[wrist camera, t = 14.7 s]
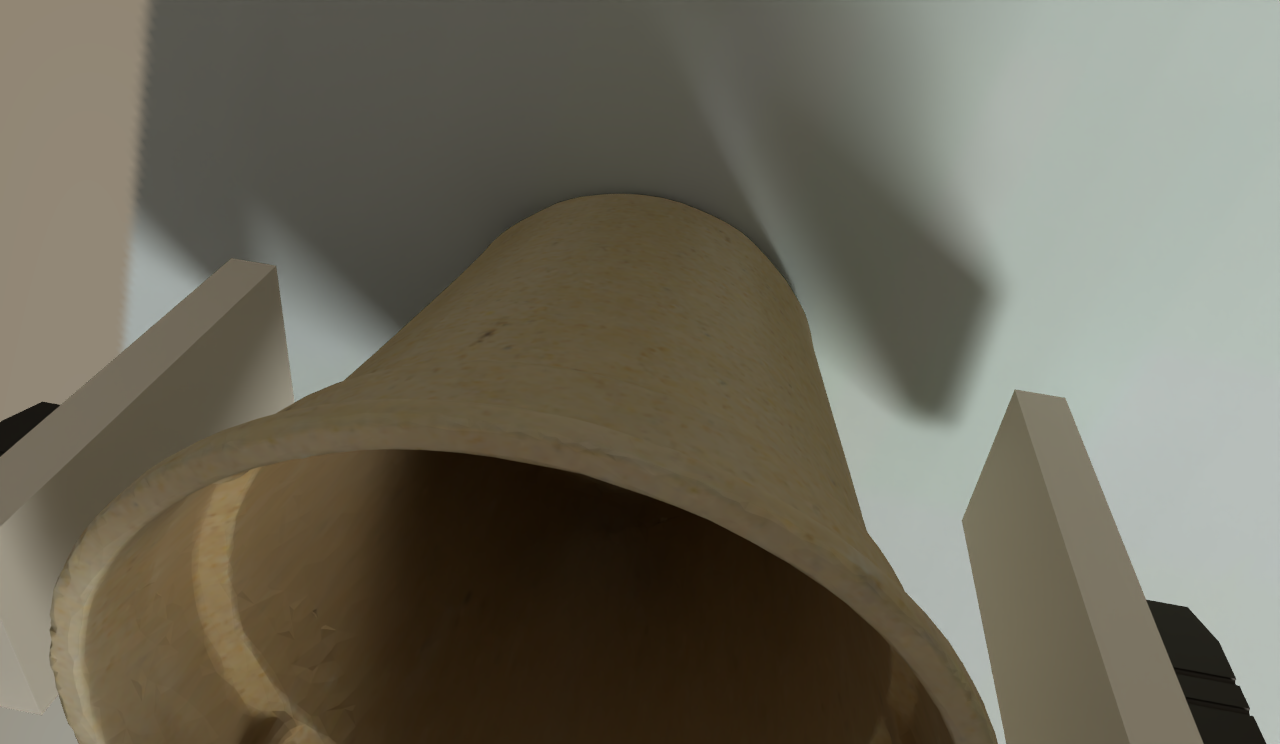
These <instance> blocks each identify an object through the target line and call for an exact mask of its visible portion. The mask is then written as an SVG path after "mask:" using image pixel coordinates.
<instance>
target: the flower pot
mask: <svg viewBox="0 0 1280 744" xmlns="http://www.w3.org/2000/svg"><path fill="white" fill-rule="evenodd" d="M50 618H51V628H50V636H51V646H50V653H49V660H50V666H51V669H52V670H53V673H54V676H55V684H56V689H57V691H58V694H59V697H60V700H61V704H62V707H63V710H64V713H65V716H66V719H67V721H68V724H69V725H70V726H71V727H72V729H73V730H74V733H75V737H76V739H77V741H78V743H79V744H998V743H997V739H996V735H995V731H994V729H993V727H992V724H991V722H990V719H989V717H988V714H987V711H986V709H985V706H984V703H983V701H982V699H981V697H980V695H979V693H978V691H977V689H976V687H975V685H974V683H973V681H972V679H971V678H970V676H969V674H968V673H967V671H966V669H965V667H964V665H963V663H962V662H961V660H960V659H959V657H958V656H957V654H956V652H955V651H954V649H953V648H952V646H951V644H950V643H949V641H948V640H947V639H946V638H945V636H944V635H943V634H942V633H941V631H940V630H939V629H938V628H937V627H936V625H935V624H934V623H933V622H932V620H931V619H930V618H929V617H928V616H927V614H926V613H925V612H924V611H923V610H922V609H921V608H920V607H919V606H918V605H917V604H916V603H915V602H914V601H913V600H912V599H911V597H910V596H909V595H908V594H907V593H906V592H905V591H904V589H903V587H902V585H901V583H900V581H899V579H898V578H897V576H896V574H895V572H894V570H893V569H892V567H891V565H890V564H889V562H888V561H887V559H886V558H885V556H884V555H883V553H882V552H881V550H880V549H879V547H878V546H877V545H876V543H875V542H874V541H873V539H872V538H871V537H870V535H869V534H868V533H867V530H866V527H865V524H864V521H863V517H862V514H861V510H860V507H859V503H858V500H857V496H856V493H855V489H854V486H853V482H852V479H851V475H850V472H849V468H848V465H847V462H846V458H845V455H844V451H843V448H842V445H841V441H840V438H839V434H838V431H837V428H836V424H835V421H834V418H833V414H832V411H831V407H830V404H829V400H828V397H827V394H826V390H825V387H824V383H823V380H822V376H821V373H820V369H819V366H818V362H817V359H816V355H815V352H814V348H813V344H812V338H811V332H810V329H809V325H808V321H807V318H806V315H805V313H804V311H803V309H802V307H801V305H800V303H799V301H798V300H797V298H796V296H795V295H794V293H793V291H792V290H791V288H790V286H789V285H788V283H787V281H786V280H785V279H784V278H783V276H782V275H781V274H780V273H779V271H778V270H777V269H776V268H775V267H774V265H773V264H772V263H771V262H770V260H769V259H768V258H767V257H766V256H765V255H764V254H763V253H762V252H761V251H760V250H759V248H758V247H757V246H756V245H755V244H754V243H753V242H752V241H751V240H750V239H748V238H747V237H746V236H745V235H744V234H743V233H742V232H740V231H738V230H737V229H735V228H734V227H732V226H731V225H729V224H727V223H726V222H724V221H722V220H720V219H718V218H716V217H714V216H712V215H710V214H707V213H705V212H703V211H701V210H698V209H696V208H693V207H691V206H688V205H686V204H683V203H680V202H676V201H672V200H668V199H665V198H661V197H654V196H648V195H636V194H602V195H592V196H582V197H577V198H574V199H570V200H566V201H563V202H559V203H556V204H554V205H552V206H550V207H548V208H546V209H544V210H542V211H540V212H538V213H536V214H534V215H532V216H530V217H528V218H526V219H524V220H522V221H520V222H519V223H517V224H515V225H514V226H512V227H510V228H509V229H508V230H506V231H505V232H503V233H502V234H501V235H500V236H499V237H498V238H496V239H495V240H494V241H493V242H492V243H491V244H490V245H489V247H488V248H487V249H486V250H485V251H484V252H483V253H482V254H481V255H480V256H479V257H478V258H477V259H476V260H475V261H474V262H473V263H472V264H471V265H470V266H469V267H468V268H467V269H466V270H465V271H464V272H463V273H462V274H461V275H460V276H459V277H458V278H457V279H456V280H455V281H454V282H453V283H451V284H450V285H449V286H448V287H447V288H446V289H445V290H444V291H443V292H442V293H441V294H439V295H438V296H437V297H436V298H435V299H434V300H433V301H432V302H431V303H430V304H429V305H428V306H426V307H425V308H424V309H423V310H422V311H421V312H420V313H419V314H418V315H417V316H415V317H414V318H413V319H412V320H411V321H410V322H409V323H408V324H407V325H406V326H404V327H403V328H402V329H401V330H400V331H399V332H398V333H397V334H396V335H395V336H393V337H392V338H391V339H390V340H389V341H388V342H387V343H386V344H385V345H384V346H382V347H381V348H380V349H379V350H378V351H377V352H376V353H375V354H374V355H372V356H371V357H370V358H369V359H368V360H367V361H366V362H364V363H363V364H362V365H361V366H360V367H359V368H358V369H357V370H355V371H354V372H353V373H352V374H351V375H350V376H349V377H347V378H346V379H345V380H344V381H343V382H340V383H336V384H334V385H331V386H329V387H327V388H324V389H322V390H320V391H317V392H315V393H312V394H310V395H308V396H306V397H304V398H302V399H300V400H299V401H297V402H295V403H293V404H291V405H290V406H288V407H286V408H284V409H282V410H281V411H279V412H277V413H276V414H273V415H269V416H265V417H262V418H258V419H255V420H252V421H249V422H246V423H243V424H240V425H237V426H234V427H231V428H228V429H225V430H222V431H220V432H218V433H216V434H213V435H211V436H209V437H207V438H205V439H202V440H200V441H198V442H196V443H194V444H192V445H190V446H188V447H187V448H185V449H183V450H181V451H179V452H177V453H175V454H173V455H171V456H170V457H168V458H166V459H164V460H163V461H161V462H160V463H158V464H157V465H155V466H153V467H152V468H150V469H149V470H147V471H146V472H145V473H144V474H142V475H141V476H140V477H139V478H138V479H137V480H135V481H134V482H133V483H132V484H131V485H130V486H128V487H127V488H126V489H125V490H124V491H123V492H121V493H120V494H119V495H118V496H117V497H116V498H115V499H113V500H112V501H111V502H110V503H109V504H108V505H107V506H106V507H105V508H104V509H103V510H102V511H101V512H100V513H99V514H98V515H97V516H96V517H95V519H94V520H93V521H92V522H91V523H90V524H89V525H88V527H87V528H86V529H85V530H84V532H83V533H82V535H81V536H80V537H79V539H78V540H77V542H76V543H75V545H74V547H73V549H72V551H71V553H70V555H69V557H68V559H67V561H66V563H65V565H64V568H63V570H62V572H61V573H60V575H59V577H58V579H57V582H56V584H55V587H54V590H53V597H52V604H51V610H50Z"/></svg>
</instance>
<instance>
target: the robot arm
mask: <svg viewBox="0 0 1280 744" xmlns="http://www.w3.org/2000/svg"><path fill="white" fill-rule="evenodd" d="M293 403H294V395H293V387H292V380H291V372H290V365H289V358H288V350H287V343H286V335H285V328H284V320H283V313H282V305H281V298H280V290H279V283H278V275H277V268H276V266H275V265H269V264H263V263H257V262H251V261H245V260H239V259H233V258H231V259H230V260H229V261H228V262H227V263H225V264H224V265H223V266H222V267H221V268H220V269H218V270H217V271H216V272H215V273H214V274H213V275H211V276H210V277H209V278H208V279H207V280H206V281H204V282H203V283H202V284H201V285H200V286H199V287H197V288H196V289H195V290H194V291H193V292H192V293H190V294H189V295H188V296H187V297H186V298H185V299H183V300H182V301H181V302H180V303H179V304H178V305H176V306H175V307H174V308H173V309H172V310H171V311H169V312H168V313H167V314H166V315H165V316H164V317H162V318H161V319H160V320H159V321H158V322H157V323H156V324H154V325H153V326H152V327H151V328H150V329H149V330H147V331H146V332H145V333H144V334H143V335H142V336H140V337H139V338H138V339H137V340H136V341H135V342H133V343H132V344H131V345H130V346H129V347H128V348H126V349H125V350H124V351H123V352H122V353H121V354H119V355H118V356H117V357H116V358H115V359H114V360H113V361H111V362H110V363H109V364H108V365H107V366H105V367H104V368H103V369H102V370H101V371H100V372H98V373H97V374H96V375H95V376H94V377H93V378H92V379H90V380H89V381H88V382H87V383H86V384H85V385H83V386H82V387H81V388H80V389H79V390H78V391H76V392H75V393H74V394H73V395H72V396H71V397H69V398H68V399H67V400H66V401H65V402H64V403H62V404H61V405H57V404H52V403H47V402H41V403H39V404H37V405H35V406H32V407H30V408H28V409H26V410H24V411H22V412H20V413H18V414H16V415H13V416H12V417H9V418H7V419H5V420H3V421H1V422H0V707H4V708H9V709H13V710H18V711H23V712H28V713H33V714H38V715H43V713H44V712H45V711H46V710H47V708H48V707H49V706H50V705H51V703H52V702H53V701H54V700H55V699H56V697H57V696H58V695H59V694H58V691H57V689H56V684H55V676H54V673H53V670H52V669H51V666H50V660H49V653H50V646H51V636H50V628H51V618H50V610H51V604H52V597H53V590H54V587H55V584H56V582H57V579H58V577H59V575H60V573H61V572H62V570H63V568H64V565H65V563H66V561H67V559H68V557H69V555H70V553H71V551H72V549H73V547H74V545H75V543H76V542H77V540H78V539H79V537H80V536H81V535H82V533H83V532H84V530H85V529H86V528H87V527H88V525H89V524H90V523H91V522H92V521H93V520H94V519H95V517H96V516H97V515H98V514H99V513H100V512H101V511H102V510H103V509H104V508H105V507H106V506H107V505H108V504H109V503H110V502H111V501H112V500H113V499H115V498H116V497H117V496H118V495H119V494H120V493H121V492H123V491H124V490H125V489H126V488H127V487H128V486H130V485H131V484H132V483H133V482H134V481H135V480H137V479H138V478H139V477H140V476H141V475H142V474H144V473H145V472H146V471H147V470H149V469H150V468H152V467H153V466H155V465H157V464H158V463H160V462H161V461H163V460H164V459H166V458H168V457H170V456H171V455H173V454H175V453H177V452H179V451H181V450H183V449H185V448H187V447H188V446H190V445H192V444H194V443H196V442H198V441H200V440H202V439H205V438H207V437H209V436H211V435H213V434H216V433H218V432H220V431H222V430H225V429H228V428H231V427H234V426H237V425H240V424H243V423H246V422H249V421H252V420H255V419H258V418H262V417H265V416H269V415H273V414H276V413H277V412H279V411H281V410H282V409H284V408H286V407H288V406H290V405H291V404H293ZM962 523H963V528H964V533H965V538H966V543H967V548H968V553H969V558H970V563H971V568H972V573H973V579H974V584H975V589H976V594H977V599H978V604H979V609H980V614H981V619H982V624H983V629H984V634H985V639H986V644H987V649H988V654H989V659H990V664H991V669H992V674H993V679H994V684H995V689H996V694H997V699H998V704H999V709H1000V714H1001V719H1002V724H1003V729H1004V734H1005V739H1006V744H1266V742H1265V740H1264V738H1263V736H1262V734H1261V731H1260V729H1259V727H1258V725H1257V723H1256V721H1255V719H1254V716H1250V715H1249V710H1250V708H1249V706H1248V703H1247V701H1246V699H1245V697H1244V695H1243V693H1242V691H1241V688H1240V686H1237V685H1236V684H1235V680H1236V678H1235V675H1234V673H1233V671H1232V669H1231V667H1230V665H1229V662H1228V660H1227V658H1226V656H1225V654H1224V652H1223V650H1222V647H1221V645H1220V643H1219V641H1218V640H1217V639H1216V638H1215V637H1214V636H1213V635H1212V634H1211V633H1210V632H1209V630H1208V629H1207V628H1206V627H1205V626H1204V625H1203V624H1202V623H1201V622H1200V620H1199V619H1198V618H1197V617H1196V616H1195V615H1194V614H1193V613H1192V612H1191V610H1190V609H1189V608H1188V607H1183V606H1178V605H1172V604H1167V603H1161V602H1156V601H1150V600H1146V599H1145V596H1144V594H1143V591H1142V589H1141V586H1140V584H1139V581H1138V579H1137V576H1136V574H1135V571H1134V569H1133V566H1132V564H1131V561H1130V559H1129V556H1128V554H1127V551H1126V549H1125V546H1124V544H1123V541H1122V539H1121V536H1120V534H1119V531H1118V529H1117V526H1116V524H1115V521H1114V519H1113V516H1112V514H1111V511H1110V509H1109V506H1108V504H1107V501H1106V499H1105V496H1104V494H1103V491H1102V489H1101V486H1100V484H1099V481H1098V479H1097V476H1096V474H1095V471H1094V469H1093V466H1092V464H1091V461H1090V459H1089V456H1088V454H1087V451H1086V449H1085V446H1084V444H1083V441H1082V439H1081V436H1080V434H1079V431H1078V429H1077V426H1076V424H1075V421H1074V419H1073V416H1072V414H1071V411H1070V409H1069V406H1068V404H1067V401H1066V399H1065V398H1062V397H1056V396H1050V395H1045V394H1039V393H1033V392H1027V391H1021V390H1014V393H1013V395H1012V398H1011V400H1010V403H1009V405H1008V408H1007V410H1006V413H1005V415H1004V417H1003V420H1002V422H1001V425H1000V427H999V430H998V432H997V435H996V437H995V440H994V442H993V445H992V447H991V450H990V452H989V455H988V457H987V460H986V462H985V465H984V467H983V470H982V472H981V475H980V477H979V480H978V482H977V484H976V487H975V489H974V492H973V494H972V497H971V499H970V502H969V504H968V507H967V509H966V512H965V514H964V517H963V519H962Z"/></svg>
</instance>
